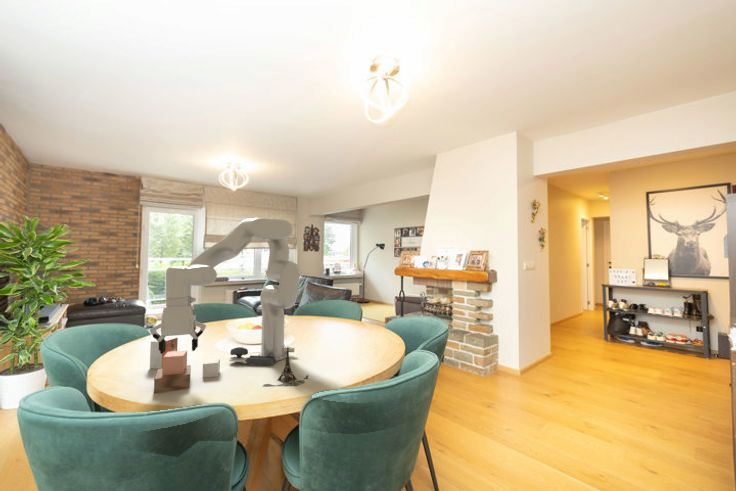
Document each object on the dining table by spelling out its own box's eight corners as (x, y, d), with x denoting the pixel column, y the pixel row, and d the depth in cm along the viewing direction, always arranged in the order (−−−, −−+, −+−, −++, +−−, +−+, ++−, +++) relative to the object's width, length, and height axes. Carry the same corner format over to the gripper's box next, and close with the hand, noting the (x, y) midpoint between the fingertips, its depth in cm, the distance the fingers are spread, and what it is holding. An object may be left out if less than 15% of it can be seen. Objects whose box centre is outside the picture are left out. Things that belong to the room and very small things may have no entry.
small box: (161, 369, 125) (162, 342, 125) (149, 368, 126) (150, 341, 126) (177, 362, 133) (178, 337, 133) (165, 361, 134) (166, 336, 134)
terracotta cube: (186, 367, 114) (187, 350, 115) (182, 373, 109) (183, 355, 109) (167, 368, 113) (168, 351, 113) (162, 375, 107) (162, 357, 107)
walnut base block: (190, 378, 117) (190, 364, 117) (189, 389, 108) (189, 374, 108) (157, 383, 112) (158, 369, 113) (153, 394, 103) (154, 379, 104)
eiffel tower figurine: (261, 388, 110) (262, 348, 110) (268, 377, 120) (269, 341, 121) (305, 387, 111) (306, 348, 112) (309, 376, 121) (309, 340, 122)
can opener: (226, 365, 131) (226, 349, 131) (232, 361, 136) (232, 346, 136) (272, 367, 130) (272, 351, 130) (276, 362, 135) (276, 347, 135)
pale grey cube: (219, 371, 124) (219, 358, 124) (217, 376, 119) (217, 362, 119) (205, 372, 122) (205, 359, 122) (202, 377, 117) (202, 364, 118)
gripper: (208, 299, 118) (208, 345, 118) (154, 301, 113) (154, 350, 113) (203, 302, 111) (203, 352, 111) (145, 305, 106) (145, 357, 106)
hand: (178, 351), depth 112 cm, fingers open, 9 cm apart
